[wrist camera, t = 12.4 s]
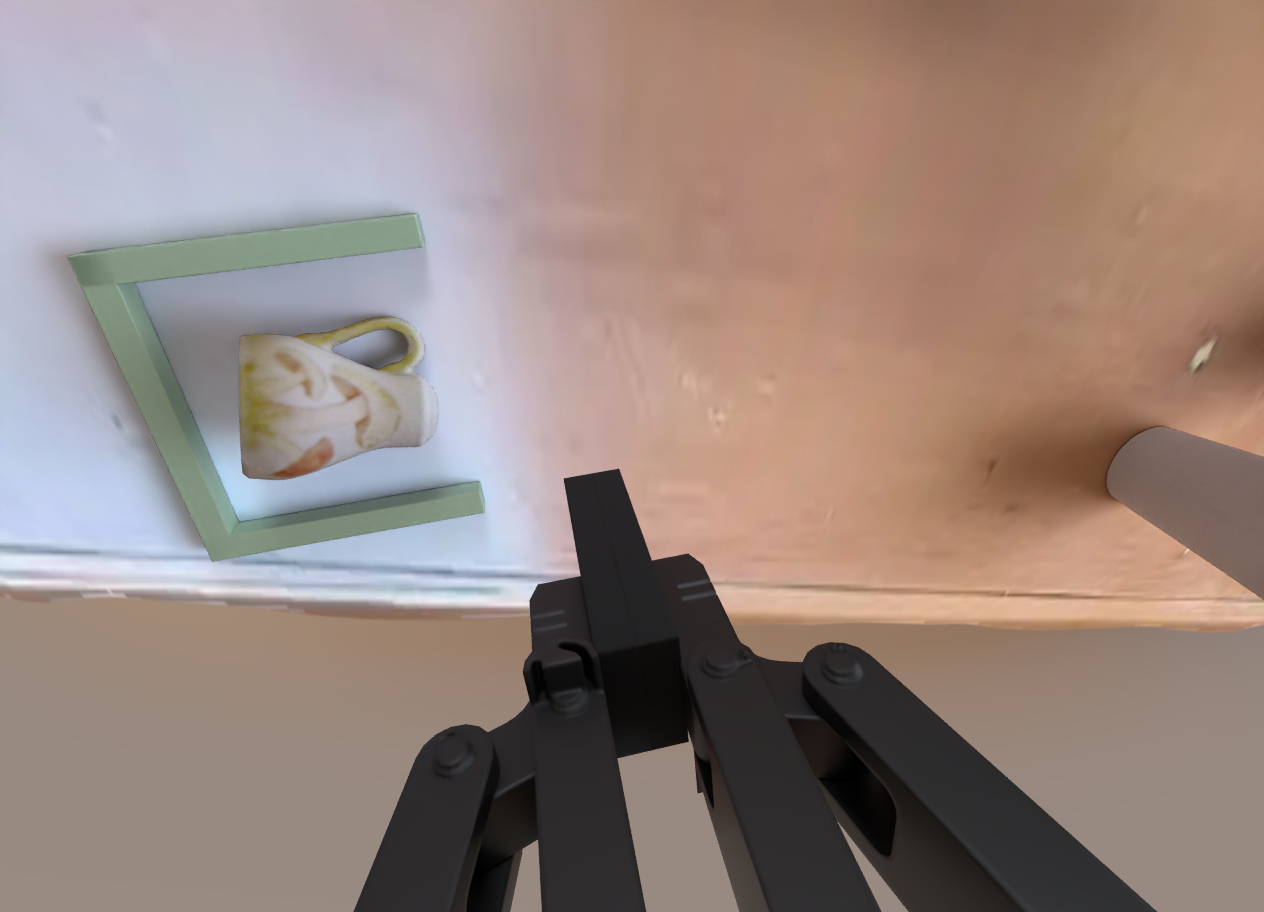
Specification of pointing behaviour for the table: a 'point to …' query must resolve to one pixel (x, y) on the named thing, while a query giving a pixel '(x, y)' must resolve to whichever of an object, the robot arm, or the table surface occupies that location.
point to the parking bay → (168, 412)
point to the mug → (327, 401)
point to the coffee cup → (1197, 497)
